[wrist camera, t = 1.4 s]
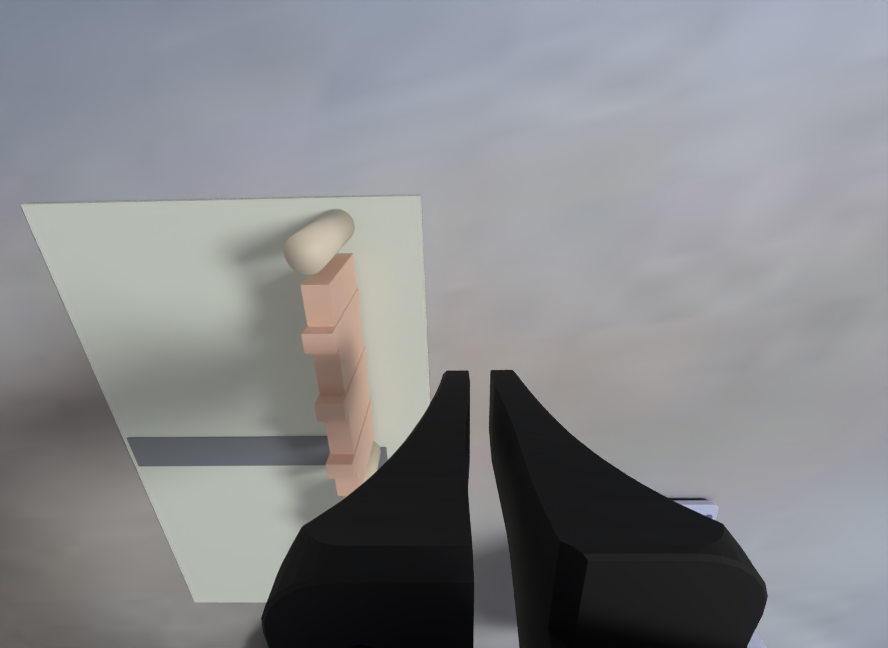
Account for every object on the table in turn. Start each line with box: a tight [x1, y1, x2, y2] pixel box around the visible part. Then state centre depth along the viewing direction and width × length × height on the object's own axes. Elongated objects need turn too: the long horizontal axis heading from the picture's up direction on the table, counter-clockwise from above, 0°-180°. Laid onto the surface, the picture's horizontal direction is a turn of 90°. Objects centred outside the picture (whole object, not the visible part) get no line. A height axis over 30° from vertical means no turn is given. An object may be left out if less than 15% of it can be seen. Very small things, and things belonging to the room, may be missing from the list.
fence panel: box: [284, 209, 375, 496], centre depth 18 cm, size 12×1×5 cm, turn 1°
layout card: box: [20, 195, 430, 602], centre depth 24 cm, size 27×17×1 cm, turn 1°
